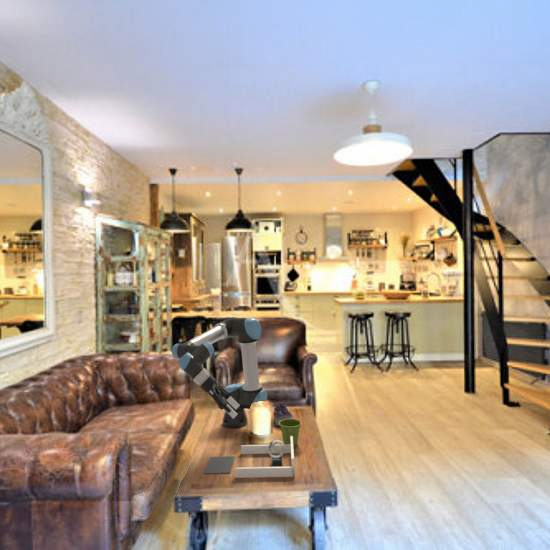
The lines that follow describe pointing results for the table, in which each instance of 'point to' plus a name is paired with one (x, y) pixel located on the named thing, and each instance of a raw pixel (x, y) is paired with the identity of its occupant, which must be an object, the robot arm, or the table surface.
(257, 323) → the robot arm
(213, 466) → the mat
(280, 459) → the watch
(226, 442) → the table surface
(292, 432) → the plant pot
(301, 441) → the table surface
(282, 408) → the geode
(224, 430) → the table surface
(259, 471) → the shelf lane
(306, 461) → the table surface
